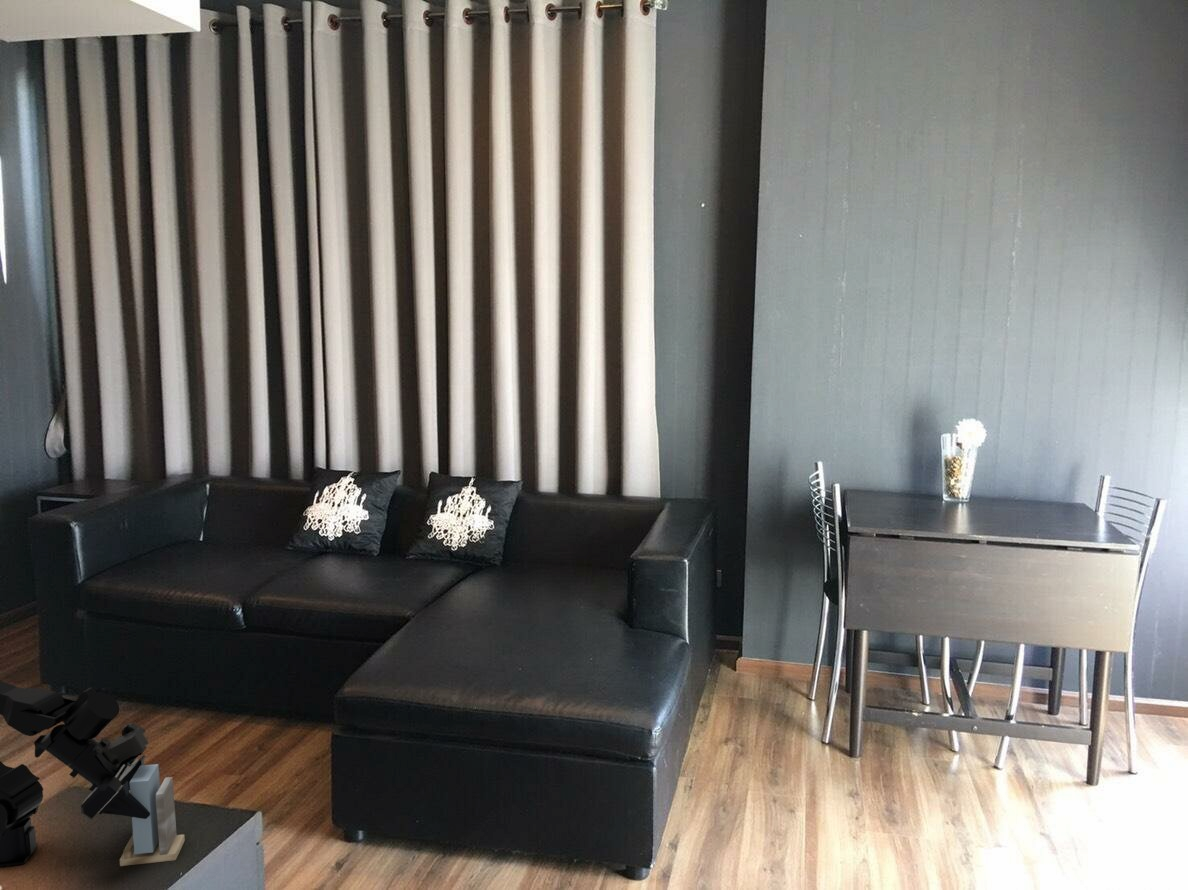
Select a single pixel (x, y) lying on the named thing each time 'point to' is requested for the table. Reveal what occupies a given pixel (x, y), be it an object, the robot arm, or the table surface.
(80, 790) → the table surface
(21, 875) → the table surface
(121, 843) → the table surface
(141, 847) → the book
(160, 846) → the book stand
